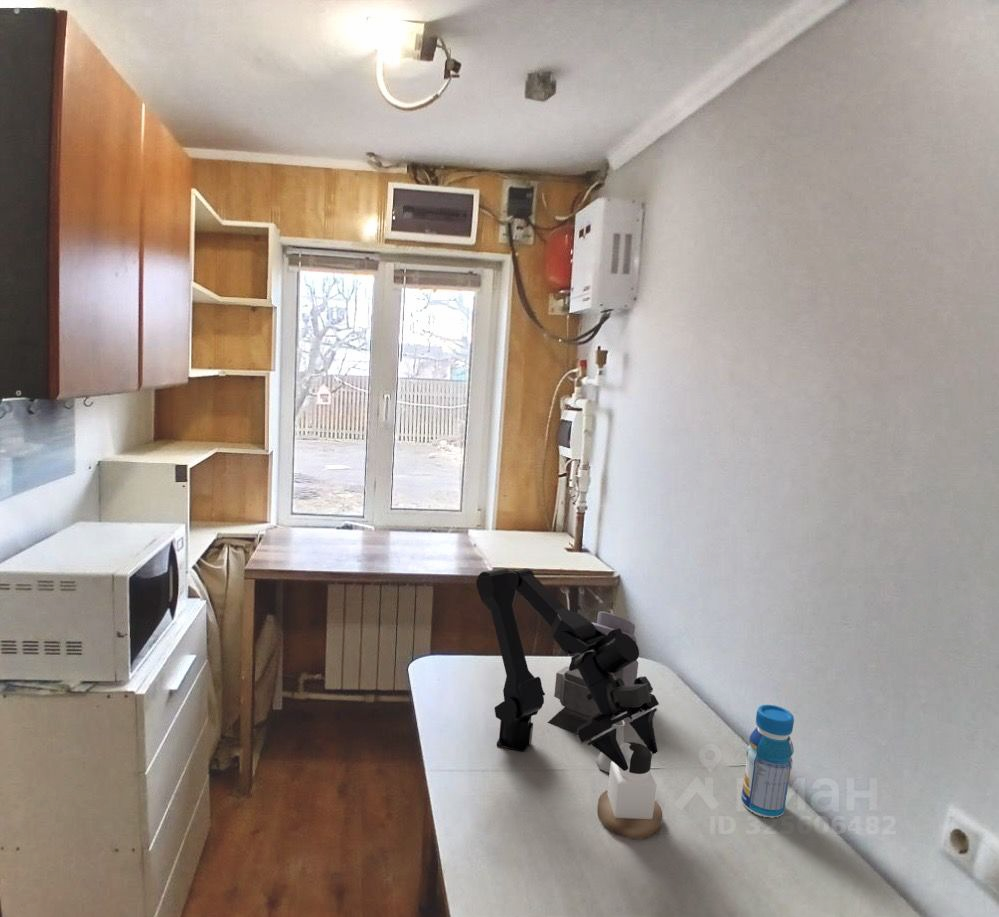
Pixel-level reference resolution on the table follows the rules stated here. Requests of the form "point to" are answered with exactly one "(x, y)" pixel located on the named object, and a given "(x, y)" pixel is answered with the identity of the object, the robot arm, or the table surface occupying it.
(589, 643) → the robot arm
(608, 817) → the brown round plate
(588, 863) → the table surface
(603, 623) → the juicer
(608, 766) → the flask
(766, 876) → the table surface
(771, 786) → the beverage bottle
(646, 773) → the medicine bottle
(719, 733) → the table surface
